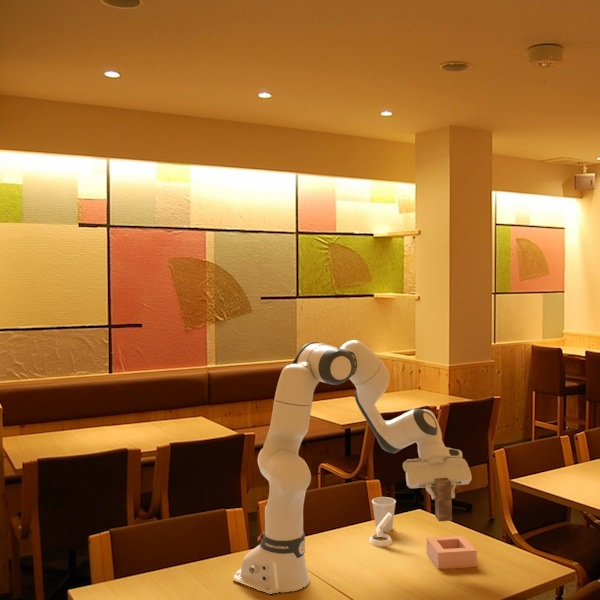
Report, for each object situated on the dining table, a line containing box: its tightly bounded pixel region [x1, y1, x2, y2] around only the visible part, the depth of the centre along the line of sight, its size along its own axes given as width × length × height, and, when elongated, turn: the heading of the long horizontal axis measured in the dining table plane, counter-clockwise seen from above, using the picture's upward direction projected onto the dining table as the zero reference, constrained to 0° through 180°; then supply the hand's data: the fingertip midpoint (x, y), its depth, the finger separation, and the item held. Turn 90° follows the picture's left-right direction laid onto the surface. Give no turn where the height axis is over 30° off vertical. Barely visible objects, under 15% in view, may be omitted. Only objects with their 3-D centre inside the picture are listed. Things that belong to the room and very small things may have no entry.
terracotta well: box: [426, 535, 478, 570], centre depth 218 cm, size 12×12×5 cm
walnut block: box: [433, 478, 453, 522], centre depth 214 cm, size 4×4×12 cm
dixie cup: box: [371, 496, 397, 533], centre depth 244 cm, size 8×8×10 cm
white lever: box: [368, 513, 393, 547], centre depth 233 cm, size 8×12×7 cm
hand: (443, 498), depth 214 cm, fingers closed on walnut block, 4 cm apart
